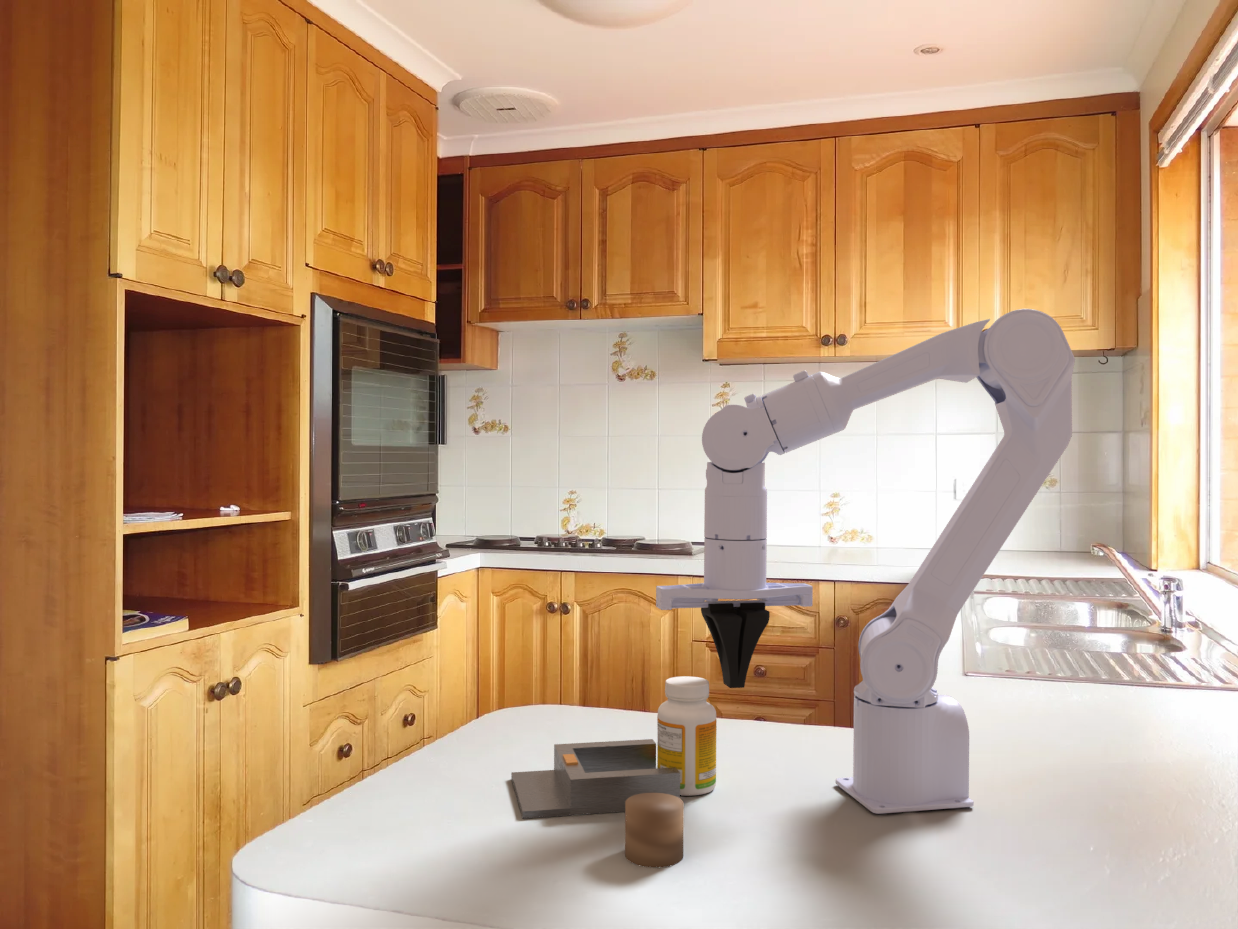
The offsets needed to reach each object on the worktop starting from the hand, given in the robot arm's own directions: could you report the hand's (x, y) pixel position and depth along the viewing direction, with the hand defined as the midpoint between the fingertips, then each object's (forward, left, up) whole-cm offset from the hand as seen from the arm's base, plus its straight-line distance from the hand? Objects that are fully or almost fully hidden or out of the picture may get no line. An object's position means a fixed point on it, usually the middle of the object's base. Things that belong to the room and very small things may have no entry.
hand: (733, 685), depth 88 cm
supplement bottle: (+4, 0, -9) cm, 10 cm away
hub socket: (+13, 0, -9) cm, 16 cm away
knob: (+11, +14, -9) cm, 20 cm away
